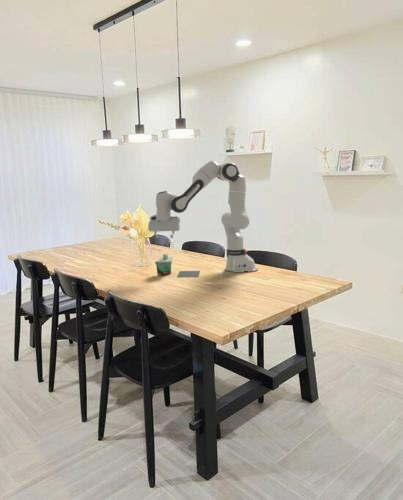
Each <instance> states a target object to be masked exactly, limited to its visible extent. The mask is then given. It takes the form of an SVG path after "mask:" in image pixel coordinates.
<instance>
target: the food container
mask: <svg viewBox="0 0 403 500" xmlns="http://www.w3.org/2000/svg"><path fill="white" fill-rule="evenodd" d="M158 261H159V260H158ZM158 261H157V260H156V261H155V266H156V267H155V268H156V274H157V276H159V277H160V276H163V277H164V276H165V277H166V276H169V275H171V274H172V264H173V260H172V261H171V262H169V263H158Z"/></svg>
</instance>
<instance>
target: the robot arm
mask: <svg viewBox="0 0 403 500" xmlns="http://www.w3.org/2000/svg"><path fill="white" fill-rule="evenodd" d="M216 178H218V179H219V180H221V181H225V182H226V181H227V182H228V183H229V184H228V185H229V188H228V198H227V199H228V200H227V201H228V202H227V203H228V206H229V208H230V211H228V212H225V213H222V216H221V218H220V219H221V224H222V225H223V228H224V231H225V236H226V264H225V268H224V269H226V271H228V272H232V273H243V272H244V271H248V272H256V270H257V271H258V270H259V267H258V266H257V265H256V263H255V260H254V258H252V257H251V256H250V255H248V254H247V253H248V251H247V249H246V248H244V236H243V234H242V233H241V231H242V230H245V229H247V228H248V227H249V225H250V219H249V216H248V214H247V211H246V205H245V204H246V203H245V202H246V189H247V187H246V185H247V183H246V182H247V181H246V177H245V176H243V175H242V174H240V171H239V169H238V166H237V165H236V164H235V163H233V162H226V163H223V164H219V163H217V162H216V161H214V160H210V161H208V162H206V163H205V164H204V165H203V166H201V167H200V168H199V169H198V170H197V171H196V172H195V173H194V175H193V176H192V182H191V185H190V186H189V187H188V188H187V189H186V190H185V191H184V192H183V193H182V194H180V195H175V194H173V193H171V192H169V190H164V191H163V190H162V191H159V192H157V194H156V197H155V206H156V214H153V215H151V216H150V217H149V222H148V225H147V228H148V230H147V231H149V232H153V234H154V236H155V238H156V239H159V238H160V235H159V234H157V232H171V233H172V234H170V239H173V238H174V234H175V232H179V231H180V228H181V227H180V226H181V225H180V223H181V218H180V217H178V216H171V211H173V212H174V213H177V214H180V213H184V212H185V211H187V209H188V207H189V203H190V202H191V201H192V200H193V199H194V198H195V197H196V195H197V194H199V192H201V191H202V190H203V189H204V188H206V187H207V186H208V185H209V184H210V183H212V181H213V180H214V179H216Z"/></svg>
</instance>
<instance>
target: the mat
mask: <svg viewBox="0 0 403 500" xmlns="http://www.w3.org/2000/svg"><path fill="white" fill-rule="evenodd" d="M200 274H201V270H179V272H178V274H177V276H176V278H180V279H182V278H199V277H200Z"/></svg>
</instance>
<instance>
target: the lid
mask: <svg viewBox="0 0 403 500" xmlns="http://www.w3.org/2000/svg"><path fill="white" fill-rule="evenodd" d="M173 259H174V258H173V256H169V254H165V253H164V254H162V257H160V258H159V259H158V263H169V262H171V261H172V262H173Z"/></svg>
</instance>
